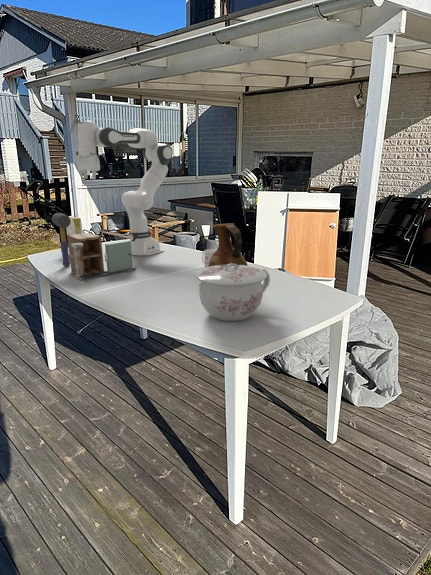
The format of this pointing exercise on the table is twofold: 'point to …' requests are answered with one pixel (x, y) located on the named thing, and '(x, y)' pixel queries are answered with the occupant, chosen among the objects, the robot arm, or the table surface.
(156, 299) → the table surface
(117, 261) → the cabinet door
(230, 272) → the chamber pot
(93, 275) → the door track
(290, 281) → the table surface
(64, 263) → the rubber mallet
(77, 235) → the walnut cabinet
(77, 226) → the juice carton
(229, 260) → the ceramic pitcher
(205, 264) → the mug
